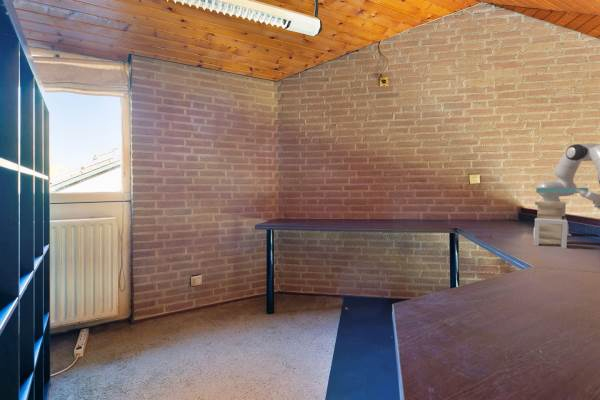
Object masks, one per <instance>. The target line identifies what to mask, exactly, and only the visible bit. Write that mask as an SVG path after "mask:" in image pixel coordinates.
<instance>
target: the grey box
mask: <svg viewBox="0 0 600 400" xmlns="http://www.w3.org/2000/svg"><path fill="white" fill-rule="evenodd" d="M539 223H548V224H562V226H561V244H560V247H561V248H562V249H567V242H568V236H567V224H568V225H569V223H568V220H567V219H566V220H560V219H540V218H537V217H535V218H534V227H535V232H534V231H533V235H534V237H533V244H534V246H539V244H540V242H539Z"/></svg>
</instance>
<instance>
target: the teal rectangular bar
mask: <svg viewBox="0 0 600 400" xmlns="http://www.w3.org/2000/svg"><path fill="white" fill-rule="evenodd" d="M576 189H580V190H583V191H586V192H587V191H589V187H577V188H537V187H536V188H535V193H536V194H538V193H575V194H580V193H579V192H576Z"/></svg>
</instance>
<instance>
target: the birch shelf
mask: <svg viewBox="0 0 600 400" xmlns="http://www.w3.org/2000/svg"><path fill="white" fill-rule="evenodd" d="M534 205H535V206H537V211H536V212H537V215H536V218H540V219H560V220H562V206H566V205H567V202H565V201H561V202H545V201H541V200H540V201H538V200H537V201H534ZM561 225H562V224H548V223H539V244H540V243H542V244H552V243H553V244H554V245H561Z"/></svg>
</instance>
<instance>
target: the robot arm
mask: <svg viewBox="0 0 600 400" xmlns="http://www.w3.org/2000/svg"><path fill="white" fill-rule="evenodd" d="M591 161H592V162H593V164H594V166H595V170H596V171H597V172H596V173H597V178H598V183H599V185H600V143H599V144H598V143H597V144H595V143H582V144H581V143H580V144H579V143H577V144H572V145H569V146H568V147H567V149H566V150H565V152H564V153H563V155H562V156H561V157H560V159H559V162H558V163H557V166H556V167H555V170H554V175H555V176H556V177H557V179H556V180H555V181H544V182H539V183H538V184H537V186H536V188H578V187H577V185H576V183H574V179H575V175H576V174H577V173H576V172H577V171H578V169H579V167H580V165H581V162H591ZM576 192H579V193H578V194H580V196H581V197H583V198H585V199H587V200H589V201H592V204H593V205H594V208H597V209H598V210H600V193H596V192H593V191H589V190H588V191H587V192H586V191H583V190H580V189H576ZM537 194H538V195H539V196H541V198H542V199H543V202H562V201H561V199H560V197H569V196H572V195H575V194H576V193H537ZM562 220H567V215H566V206H562ZM561 226H562V225H561ZM571 236H572V234H571V233H569V223H568V224H567V237H571Z"/></svg>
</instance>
